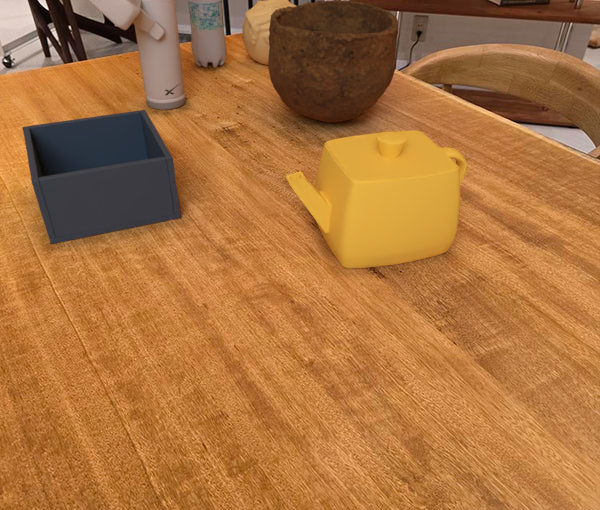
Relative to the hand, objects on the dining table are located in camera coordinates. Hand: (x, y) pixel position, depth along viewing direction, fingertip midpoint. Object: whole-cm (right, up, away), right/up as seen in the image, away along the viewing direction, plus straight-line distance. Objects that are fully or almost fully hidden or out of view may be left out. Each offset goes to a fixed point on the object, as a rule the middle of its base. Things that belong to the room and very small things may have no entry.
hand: (161, 27), depth 88 cm
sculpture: (+16, +5, +25) cm, 30 cm away
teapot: (+29, -34, -22) cm, 50 cm away
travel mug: (-1, -9, +7) cm, 12 cm away
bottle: (+4, +3, +22) cm, 23 cm away
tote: (-3, -29, -17) cm, 34 cm away
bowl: (+25, -13, +4) cm, 28 cm away
